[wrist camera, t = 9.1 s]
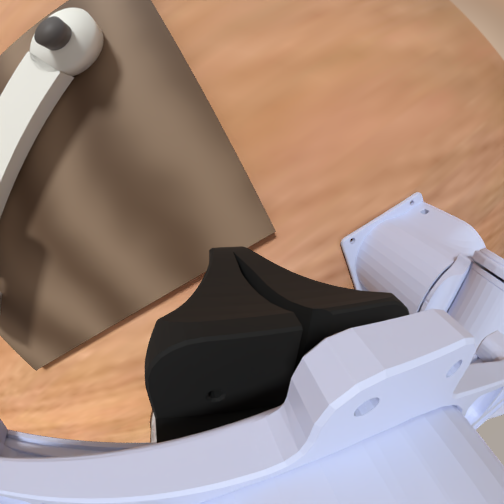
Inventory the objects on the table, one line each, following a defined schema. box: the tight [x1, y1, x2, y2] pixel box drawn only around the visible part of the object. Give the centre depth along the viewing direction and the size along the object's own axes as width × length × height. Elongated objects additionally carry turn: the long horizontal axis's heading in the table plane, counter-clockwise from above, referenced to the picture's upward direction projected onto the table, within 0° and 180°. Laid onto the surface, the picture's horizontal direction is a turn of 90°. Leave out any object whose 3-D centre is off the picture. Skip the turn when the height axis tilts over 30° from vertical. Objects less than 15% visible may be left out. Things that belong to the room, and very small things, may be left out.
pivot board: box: [0, 0, 276, 370], centre depth 14 cm, size 26×22×6 cm
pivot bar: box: [0, 8, 103, 218], centre depth 12 cm, size 18×4×2 cm, turn 139°
